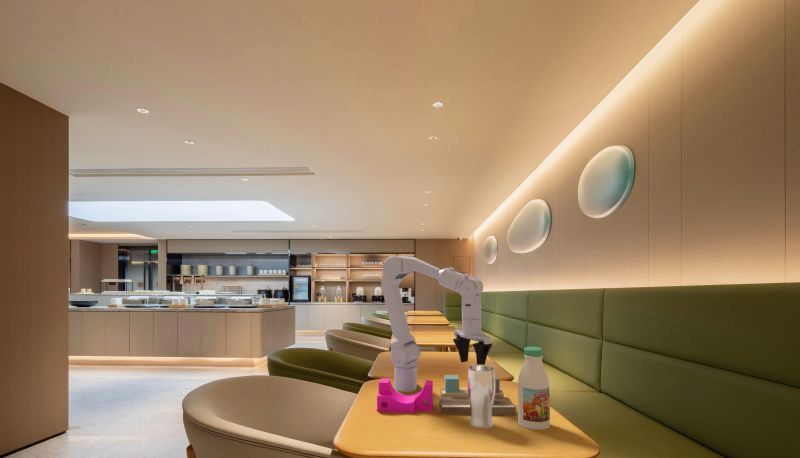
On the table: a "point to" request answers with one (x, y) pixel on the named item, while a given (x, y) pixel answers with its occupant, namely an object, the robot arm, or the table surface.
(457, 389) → the teal cube
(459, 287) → the robot arm
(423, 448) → the table surface
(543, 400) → the milk bottle
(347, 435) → the table surface
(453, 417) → the table surface
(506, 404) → the dock
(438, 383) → the table surface
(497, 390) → the grey cube
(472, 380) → the silver metal tumbler
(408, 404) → the pink pipe cradle
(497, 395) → the tan tray
